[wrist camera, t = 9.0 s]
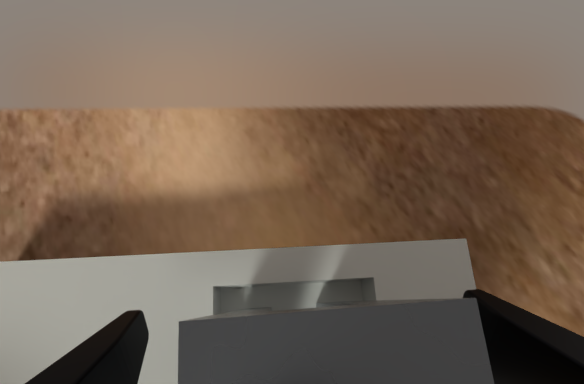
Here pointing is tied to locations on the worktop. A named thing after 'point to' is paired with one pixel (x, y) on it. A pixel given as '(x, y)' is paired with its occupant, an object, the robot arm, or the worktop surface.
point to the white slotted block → (203, 293)
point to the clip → (338, 344)
